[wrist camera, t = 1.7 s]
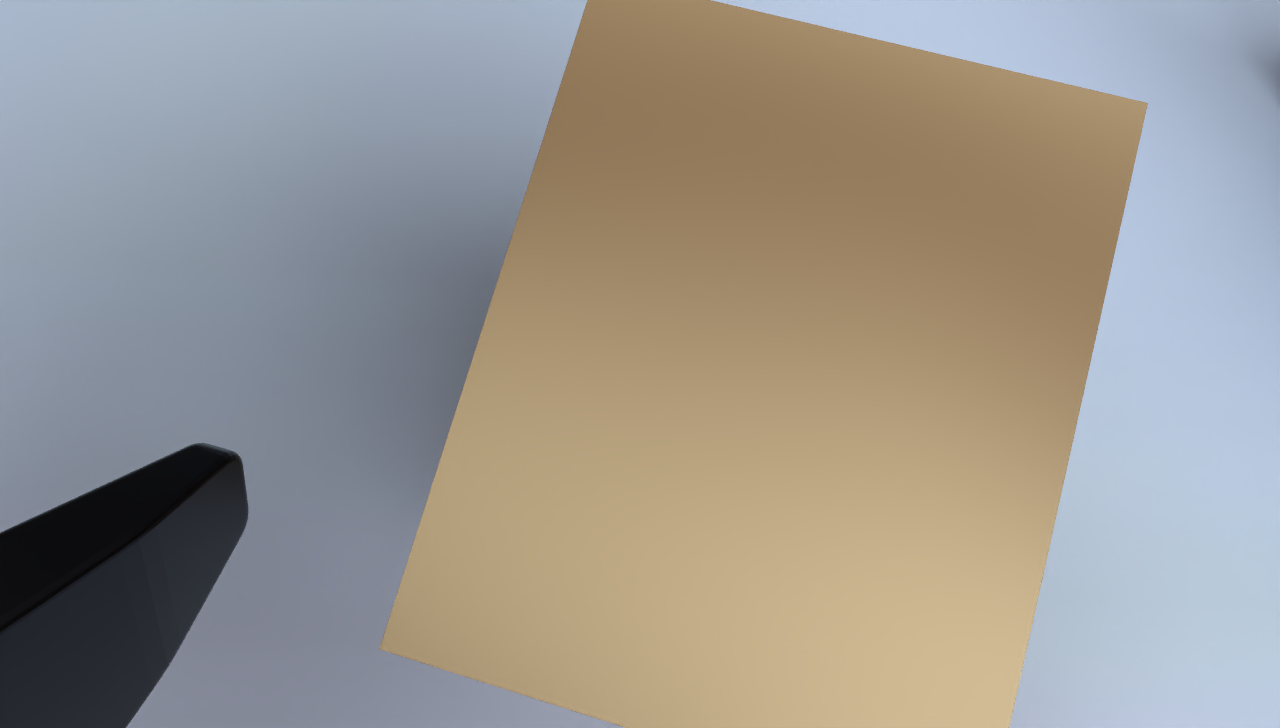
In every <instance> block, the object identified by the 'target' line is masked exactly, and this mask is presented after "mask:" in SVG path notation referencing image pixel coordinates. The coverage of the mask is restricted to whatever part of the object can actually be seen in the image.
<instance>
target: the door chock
mask: <svg viewBox="0 0 1280 728" xmlns="http://www.w3.org/2000/svg"><path fill="white" fill-rule="evenodd" d="M1147 104H1148V103H1145V102H1141V101H1136V100H1132V99H1128V98H1124V97H1119V96H1115V95H1111V94H1107V93H1102V92H1098V91H1094V90H1090V89H1085V88H1081V87H1077V86H1073V85H1068V84H1064V83H1060V82H1056V81H1051V80H1047V79H1043V78H1039V77H1034V76H1030V75H1026V74H1022V73H1017V72H1013V71H1009V70H1005V69H1000V68H996V67H992V66H988V65H983V64H979V63H975V62H971V61H966V60H962V59H958V58H954V57H949V56H945V55H941V54H936V53H932V52H928V51H924V50H919V49H915V48H911V47H907V46H902V45H898V44H894V43H890V42H885V41H881V40H877V39H873V38H868V37H864V36H860V35H856V34H851V33H847V32H843V31H839V30H834V29H830V28H826V27H822V26H817V25H813V24H809V23H805V22H800V21H796V20H792V19H788V18H783V17H779V16H775V15H771V14H766V13H762V12H758V11H754V10H749V9H745V8H741V7H737V6H732V5H728V4H724V3H720V2H715V1H711V0H588V1H587V4H586V7H585V10H584V13H583V16H582V19H581V22H580V26H579V29H578V32H577V35H576V38H575V41H574V44H573V47H572V50H571V54H570V57H569V60H568V63H567V66H566V69H565V72H564V75H563V78H562V82H561V85H560V88H559V91H558V94H557V97H556V100H555V103H554V107H553V110H552V113H551V116H550V119H549V122H548V125H547V128H546V131H545V135H544V138H543V141H542V144H541V147H540V150H539V153H538V156H537V159H536V163H535V166H534V169H533V172H532V175H531V178H530V181H529V184H528V187H527V191H526V194H525V197H524V200H523V203H522V206H521V209H520V212H519V216H518V219H517V222H516V225H515V228H514V231H513V234H512V237H511V240H510V244H509V247H508V250H507V253H506V256H505V259H504V262H503V265H502V268H501V272H500V275H499V278H498V281H497V284H496V287H495V290H494V293H493V296H492V300H491V303H490V306H489V309H488V312H487V315H486V318H485V321H484V324H483V328H482V331H481V334H480V337H479V340H478V343H477V346H476V349H475V353H474V356H473V359H472V362H471V365H470V368H469V371H468V374H467V377H466V381H465V384H464V387H463V390H462V393H461V396H460V399H459V402H458V405H457V409H456V412H455V415H454V418H453V421H452V424H451V427H450V430H449V433H448V437H447V440H446V443H445V446H444V449H443V452H442V455H441V458H440V462H439V465H438V468H437V471H436V474H435V477H434V480H433V483H432V486H431V490H430V493H429V496H428V499H427V502H426V505H425V508H424V511H423V514H422V518H421V521H420V524H419V527H418V530H417V533H416V536H415V539H414V542H413V546H412V549H411V552H410V555H409V558H408V561H407V564H406V567H405V571H404V574H403V577H402V580H401V583H400V586H399V589H398V592H397V595H396V599H395V602H394V605H393V608H392V611H391V614H390V617H389V620H388V623H387V627H386V630H385V633H384V636H383V639H382V642H381V645H380V648H379V649H380V650H383V651H387V652H390V653H393V654H396V655H399V656H402V657H405V658H409V659H412V660H415V661H418V662H421V663H424V664H427V665H431V666H434V667H437V668H440V669H443V670H446V671H449V672H453V673H456V674H459V675H462V676H465V677H468V678H471V679H475V680H478V681H481V682H484V683H487V684H490V685H493V686H497V687H500V688H503V689H506V690H509V691H512V692H515V693H519V694H522V695H525V696H528V697H531V698H534V699H537V700H541V701H544V702H547V703H550V704H553V705H556V706H559V707H563V708H566V709H569V710H572V711H575V712H578V713H581V714H585V715H588V716H591V717H594V718H597V719H600V720H603V721H607V722H610V723H613V724H616V725H619V726H622V727H625V728H1009V726H1010V722H1011V717H1012V713H1013V708H1014V704H1015V699H1016V695H1017V690H1018V686H1019V681H1020V677H1021V672H1022V668H1023V663H1024V659H1025V654H1026V650H1027V645H1028V641H1029V636H1030V632H1031V627H1032V623H1033V618H1034V614H1035V609H1036V605H1037V600H1038V596H1039V591H1040V587H1041V582H1042V578H1043V573H1044V569H1045V564H1046V560H1047V555H1048V551H1049V546H1050V542H1051V537H1052V532H1053V528H1054V523H1055V519H1056V514H1057V510H1058V505H1059V501H1060V496H1061V492H1062V487H1063V483H1064V478H1065V474H1066V469H1067V465H1068V460H1069V456H1070V451H1071V447H1072V442H1073V438H1074V433H1075V429H1076V424H1077V420H1078V415H1079V411H1080V406H1081V402H1082V397H1083V393H1084V388H1085V384H1086V379H1087V375H1088V370H1089V366H1090V361H1091V357H1092V352H1093V348H1094V343H1095V339H1096V334H1097V330H1098V325H1099V321H1100V316H1101V312H1102V307H1103V303H1104V298H1105V294H1106V289H1107V285H1108V280H1109V276H1110V271H1111V267H1112V262H1113V258H1114V253H1115V249H1116V244H1117V240H1118V235H1119V231H1120V226H1121V222H1122V217H1123V213H1124V208H1125V204H1126V199H1127V194H1128V190H1129V185H1130V181H1131V176H1132V172H1133V167H1134V163H1135V158H1136V154H1137V149H1138V145H1139V140H1140V136H1141V131H1142V127H1143V122H1144V118H1145V113H1146V109H1147Z"/></svg>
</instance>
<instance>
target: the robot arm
mask: <svg viewBox="0 0 1280 728" xmlns="http://www.w3.org/2000/svg"><path fill="white" fill-rule="evenodd" d="M247 519H248V501H247V494H246V486H245V478H244V471H243V464H242V460H241V458H240V457H239V456H238V454H237V453H235V452H233V451H230V450H227V449H223V448H220V447H216V446H213V445H209V444H205V443H197V444H193V445H190V446H188V447H185V448H183V449H181V450H179V451H177V452H175V453H172V454H170V455H168V456H166V457H164V458H162V459H159V460H157V461H155V462H153V463H151V464H148V465H146V466H144V467H142V468H140V469H138V470H135V471H133V472H131V473H129V474H127V475H125V476H122V477H120V478H118V479H116V480H114V481H112V482H109V483H107V484H105V485H103V486H101V487H99V488H96V489H94V490H92V491H90V492H88V493H85V494H83V495H81V496H79V497H77V498H75V499H72V500H70V501H68V502H66V503H64V504H62V505H59V506H57V507H55V508H53V509H51V510H49V511H46V512H44V513H42V514H40V515H38V516H36V517H33V518H31V519H29V520H27V521H25V522H22V523H20V524H18V525H16V526H14V527H12V528H9V529H7V530H5V531H3V532H1V533H0V728H126V727H127V725H128V724H129V723H130V721H131V720H132V718H133V717H134V716H135V714H136V713H137V711H138V710H139V708H140V707H141V706H142V704H143V703H144V701H145V700H146V698H147V697H148V696H149V694H150V693H151V691H152V690H153V689H154V687H155V686H156V684H157V683H158V681H159V680H160V678H161V677H162V675H163V674H164V672H165V671H166V669H167V668H168V666H169V664H170V663H171V661H172V659H173V658H174V656H175V654H176V653H177V651H178V649H179V647H180V646H181V644H182V642H183V640H184V639H185V637H186V635H187V633H188V631H189V630H190V628H191V626H192V624H193V622H194V621H195V619H196V617H197V615H198V613H199V612H200V610H201V608H202V606H203V604H204V603H205V601H206V599H207V597H208V595H209V593H210V592H211V590H212V588H213V586H214V584H215V583H216V581H217V579H218V577H219V575H220V574H221V572H222V570H223V568H224V566H225V565H226V563H227V561H228V559H229V557H230V556H231V554H232V552H233V550H234V548H235V547H236V545H237V543H238V541H239V539H240V537H241V536H242V534H243V532H244V529H245V526H246V523H247Z"/></svg>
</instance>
